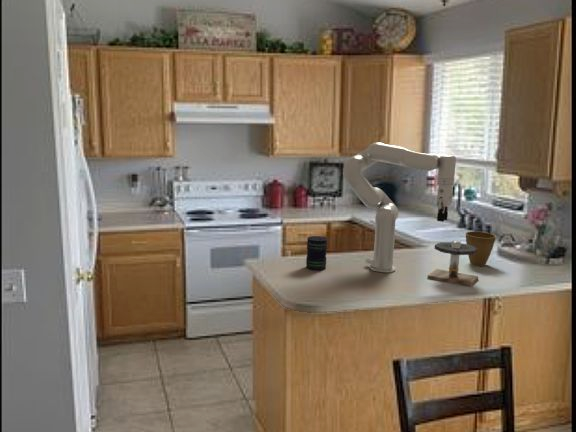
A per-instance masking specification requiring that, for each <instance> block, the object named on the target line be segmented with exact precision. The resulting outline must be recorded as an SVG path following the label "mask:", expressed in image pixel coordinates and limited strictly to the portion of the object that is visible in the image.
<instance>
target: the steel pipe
mask: <svg viewBox="0 0 576 432" xmlns="http://www.w3.org/2000/svg"><path fill="white" fill-rule="evenodd" d="M451 242H452V245H451V248H460V245H461V243H462V241H459V240H452V241H451ZM459 265H460V255H455V254H450V259H449V268H448V271H449V276H451V277H457V276H458V273H459V270H460V269H459Z"/></svg>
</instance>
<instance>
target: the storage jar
mask: <svg viewBox="0 0 576 432" xmlns="http://www.w3.org/2000/svg"><path fill="white" fill-rule="evenodd" d="M306 250H307V252H306V253H307V254H306V258H305V259H306V260H305V261H306V262H305V264H306V266H305V268H306V269H307V270H309V271H313V272H320V271H326V268H327V267H326V266H327V250H328V237H325V236H319V235H315V236H313V235H312V236H308V237H307V242H306Z"/></svg>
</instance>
